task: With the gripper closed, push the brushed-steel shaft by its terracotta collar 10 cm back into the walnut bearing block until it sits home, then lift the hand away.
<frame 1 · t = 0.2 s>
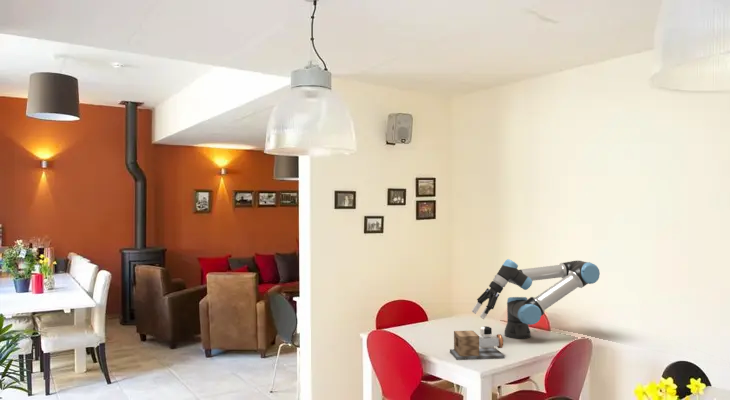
hand: (477, 315, 308), 16 cm above the table, tool tilted 35°, fingers open, 13 cm apart
medicine bottle: (486, 349, 295), on the table
shaft: (484, 341, 284), point 7 cm above the table, slide at 10.0 cm
bearing block: (466, 355, 283), on the table
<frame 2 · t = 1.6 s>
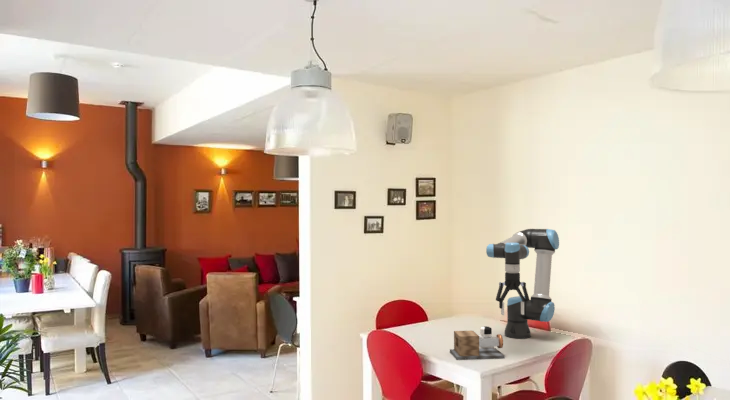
hand: (512, 314, 285), 21 cm above the table, tool pointing down, fingers open, 10 cm apart
nothing on the table moved.
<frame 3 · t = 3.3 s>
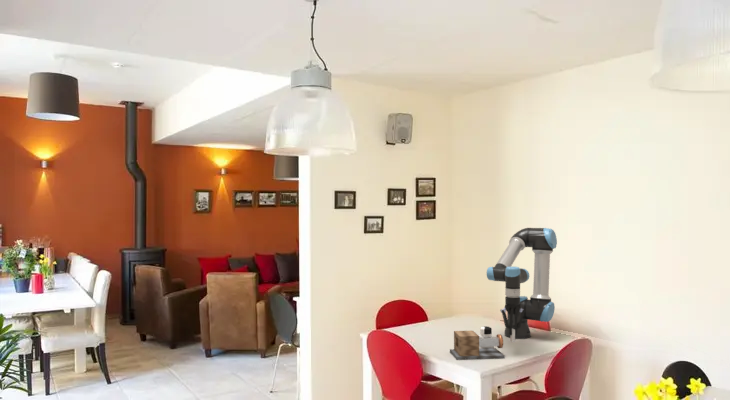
hand: (512, 341, 285), 7 cm above the table, tool pointing down, fingers closed
nothing on the table moved.
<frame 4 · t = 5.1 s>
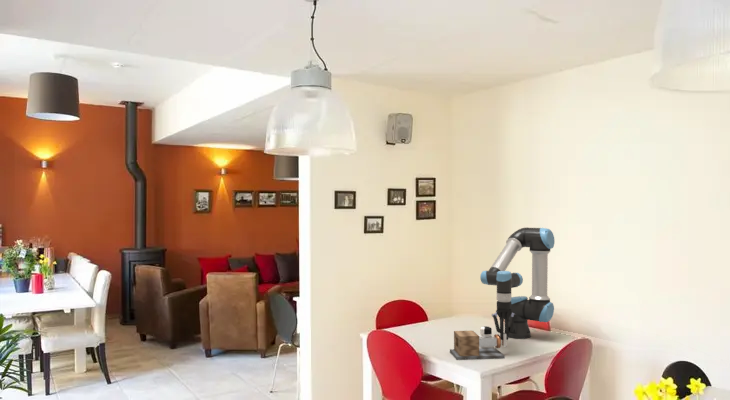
hand: (504, 345, 285), 5 cm above the table, tool pointing down, fingers closed
shaft: (482, 341, 284), point 7 cm above the table, slide at 8.8 cm, touching gripper
everything else where it was.
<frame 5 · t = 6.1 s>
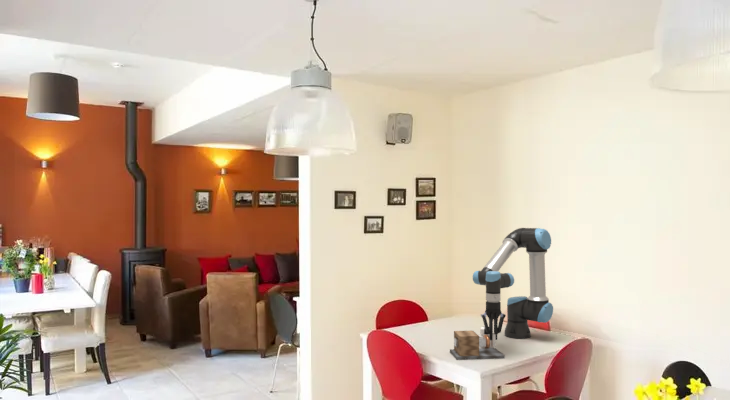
hand: (493, 346, 284), 5 cm above the table, tool pointing down, fingers closed
shaft: (471, 341, 283), point 7 cm above the table, slide at 3.0 cm, touching gripper
everything else where it was.
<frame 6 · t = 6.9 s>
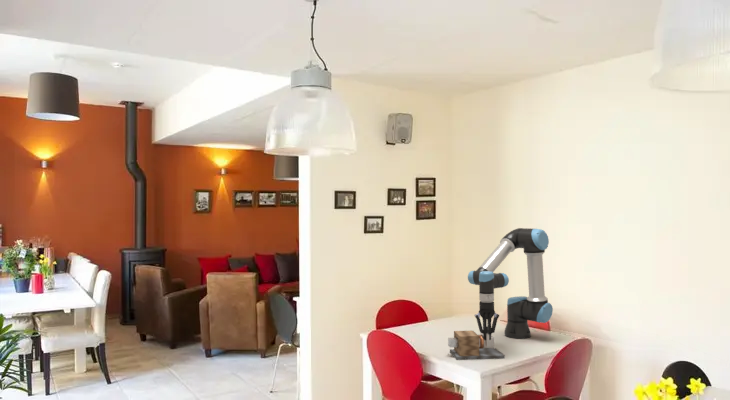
hand: (487, 346, 284), 5 cm above the table, tool pointing down, fingers closed
shaft: (465, 342, 283), point 7 cm above the table, slide at -0.2 cm, touching gripper
everything else where it was.
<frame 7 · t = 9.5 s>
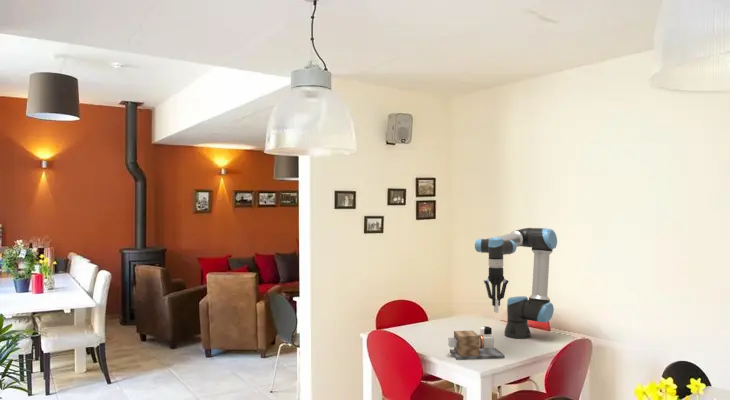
hand: (496, 312, 285), 22 cm above the table, tool pointing down, fingers closed
shaft: (465, 342, 283), point 7 cm above the table, slide at 0.0 cm
everything else where it was.
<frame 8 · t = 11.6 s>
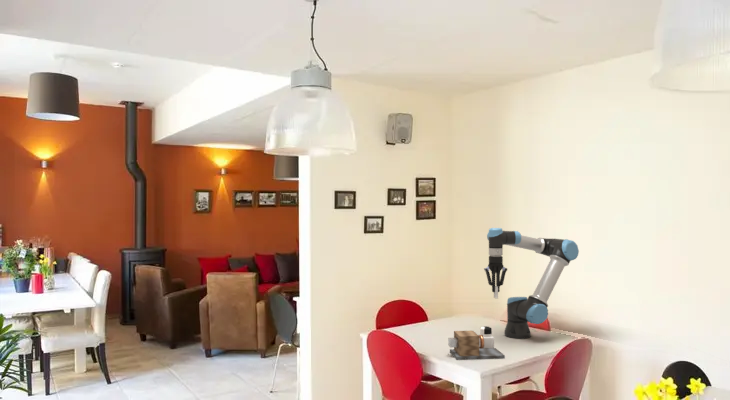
hand: (495, 297, 303), 26 cm above the table, tool pointing down, fingers closed
nothing on the table moved.
at the end: shaft slide at 0.0 cm; medicine bottle moved 0.2 cm from its start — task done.
